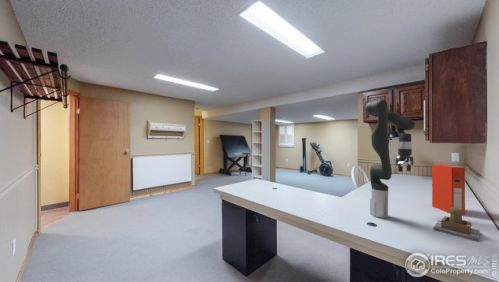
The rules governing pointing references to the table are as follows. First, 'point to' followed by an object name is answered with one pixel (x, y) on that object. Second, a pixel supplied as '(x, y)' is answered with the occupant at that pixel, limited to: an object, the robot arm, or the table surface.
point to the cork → (456, 215)
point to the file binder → (448, 187)
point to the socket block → (457, 229)
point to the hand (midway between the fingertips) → (404, 171)
